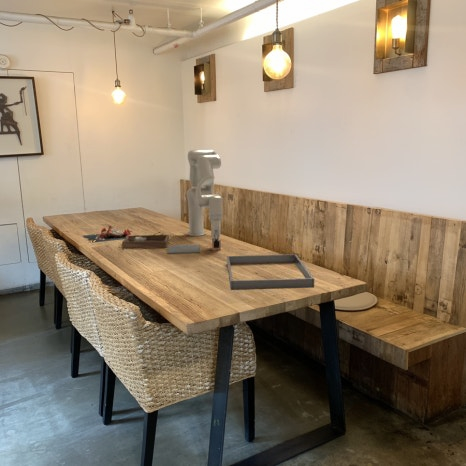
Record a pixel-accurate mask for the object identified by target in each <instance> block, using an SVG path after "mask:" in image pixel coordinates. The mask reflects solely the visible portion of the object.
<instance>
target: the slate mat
mask: <svg viewBox="0 0 466 466" xmlns="http://www.w3.org/2000/svg"><path fill="white" fill-rule="evenodd" d="M200 248H201V245H200V244H172V245H171V244H170V245H169V247H168V249H167V252H166V254H168V255H170V254H171V255H175V254H180V255H181V254H200Z"/></svg>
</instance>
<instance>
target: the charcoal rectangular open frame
mask: <svg viewBox="0 0 466 466" xmlns="http://www.w3.org/2000/svg"><path fill="white" fill-rule="evenodd" d="M278 263H279V264H281V263H282V264H283V263H285V264H287V263H294V264H295V265H296V267H297V268H298V270H299V271H300V273H301V274H302V276H303V278H301V277H299V278H272V279H271V278H267V279H266V278H265V279H238V280H237V279H236V280H235V279H234V280H233V274H232V266H231V265H242V264H243V265H244V264H245V265H247V264H278ZM226 267H227V272H228V279H229V287H230V288H229V289H230V291H241V290H243V291H246V290H248V291H250V290H276V289H277V290H279V289H280V290H281V289H284V290H285V289H308V288H309V289H310V288H311V289H313V288H315V277H314V276H313V275H312V274H311V272H310V271H309V269H308V268H307V266H306V265H305V264H304V263H303V262H302V260H301V259H300V258H299V256H298V254H296V253H295V254H293V253H291V254H290V253H289V254H259V255H257V254H256V255H255V254H254V255H252V254H251V255H227V256H226Z"/></svg>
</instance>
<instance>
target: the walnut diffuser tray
mask: <svg viewBox="0 0 466 466" xmlns="http://www.w3.org/2000/svg"><path fill="white" fill-rule="evenodd" d="M152 235H153V236H154V237H153V236H152ZM157 235H159V236H157ZM149 236H151V237H150V238H147V237H149ZM135 237H142V238H146V239H149V240H146V241H138V242H134V238H135ZM165 238H166V239H165ZM156 240H161V241H156ZM169 241H170V235H169V234H163V235H161V234H155V235H154V234H148V235H147V234H145V235H144V234H143V235H142V234H141V235H140V234H138V235H137V234H136V236H135V235H131V236H127V237H126V238H125V239H123V241H122V242H121V244H122V245H121V246H122V247H121V248H122V250H125V249H126V250H127V249H129V250H131V249H159V248H161V249H162V248H164V249H165V248H167V247H168V244H169Z"/></svg>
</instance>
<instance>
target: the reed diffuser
mask: <svg viewBox="0 0 466 466" xmlns="http://www.w3.org/2000/svg"><path fill="white" fill-rule="evenodd" d="M159 233H161V231H159V232H157V233H155V234H151V235H152V236H153V235H157V236H159V235H164V233H162V234H159ZM150 237H151V236H149V237H147V238H150ZM153 237H154V236H153ZM165 239H166V238H165ZM146 240H149V239H146V238H142V237H135V238H134V242H138V241H146ZM156 241H161V240H156Z"/></svg>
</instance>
